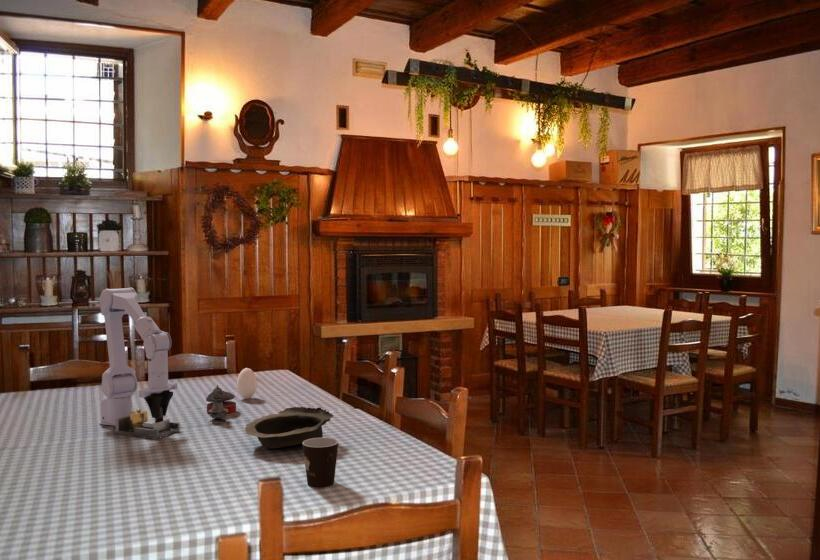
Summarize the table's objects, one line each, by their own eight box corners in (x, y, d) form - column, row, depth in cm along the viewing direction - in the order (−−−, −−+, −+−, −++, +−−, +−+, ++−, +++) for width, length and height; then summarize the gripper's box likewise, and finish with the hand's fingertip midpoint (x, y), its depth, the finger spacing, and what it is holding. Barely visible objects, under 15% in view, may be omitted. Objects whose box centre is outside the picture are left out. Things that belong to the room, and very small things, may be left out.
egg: (261, 398, 267) (260, 367, 267) (247, 401, 261) (246, 370, 261) (247, 395, 271) (246, 365, 271) (232, 399, 265) (232, 368, 265)
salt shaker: (222, 423, 228) (221, 387, 228) (205, 422, 229) (204, 386, 229) (230, 419, 234) (229, 383, 233) (214, 418, 235) (213, 383, 235)
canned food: (207, 427, 242) (193, 402, 242) (225, 418, 251) (212, 393, 251) (230, 415, 237) (216, 389, 238) (247, 406, 246) (234, 380, 247)
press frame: (114, 433, 216) (114, 419, 216) (138, 426, 225) (138, 412, 225) (156, 439, 210) (156, 424, 209) (179, 431, 219) (179, 416, 219)
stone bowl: (345, 436, 211) (344, 406, 210) (307, 467, 188) (305, 433, 187) (273, 428, 219) (271, 399, 218) (227, 457, 196) (225, 425, 195)
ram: (143, 431, 213) (142, 408, 213) (159, 426, 220) (159, 403, 220) (154, 433, 212) (153, 409, 212) (170, 427, 218) (169, 404, 218)
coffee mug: (304, 478, 173) (303, 438, 173) (339, 476, 174) (338, 437, 174) (300, 494, 162) (300, 451, 161) (338, 493, 163) (337, 450, 162)
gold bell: (127, 429, 217) (126, 410, 217) (138, 425, 222) (137, 406, 222) (140, 430, 215) (139, 411, 215) (151, 426, 220) (150, 407, 220)
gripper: (151, 377, 207) (152, 423, 207) (184, 369, 220) (185, 412, 221) (132, 375, 209) (133, 420, 210) (166, 368, 223) (167, 410, 223)
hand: (158, 416), depth 215 cm, fingers closed on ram, 2 cm apart
